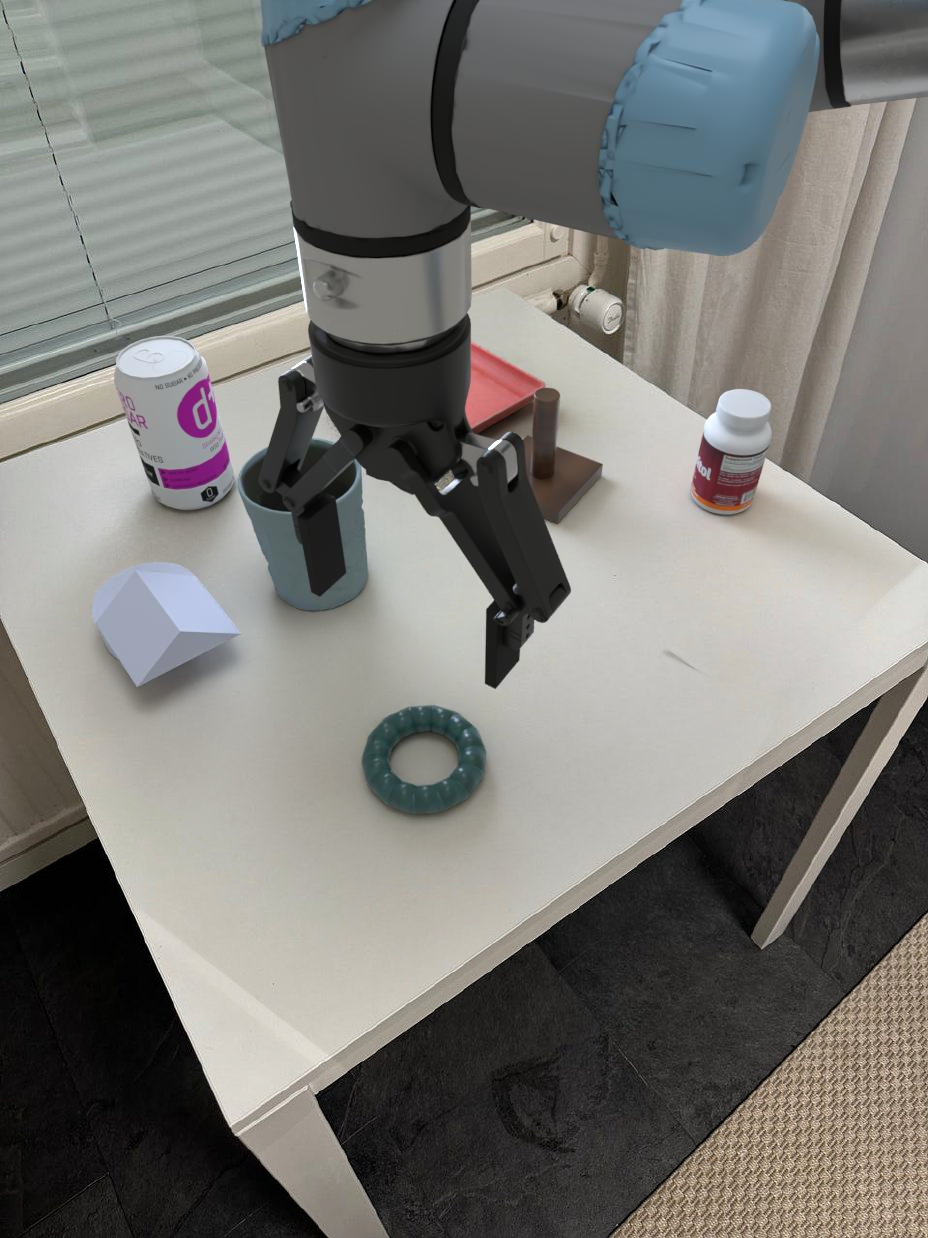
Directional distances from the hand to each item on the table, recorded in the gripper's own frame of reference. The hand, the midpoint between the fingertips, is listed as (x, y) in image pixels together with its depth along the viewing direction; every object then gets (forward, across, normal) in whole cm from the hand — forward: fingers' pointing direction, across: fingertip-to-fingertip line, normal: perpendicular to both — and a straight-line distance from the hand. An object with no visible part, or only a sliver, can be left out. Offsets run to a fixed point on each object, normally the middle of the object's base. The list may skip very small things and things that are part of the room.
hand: (411, 625), depth 56 cm
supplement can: (+16, -39, +14) cm, 44 cm away
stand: (+16, -10, +34) cm, 39 cm away
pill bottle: (+16, +6, +42) cm, 45 cm away
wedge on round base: (+16, -26, -2) cm, 30 cm away
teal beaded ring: (+15, 0, 0) cm, 15 cm away
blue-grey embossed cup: (+16, -20, +11) cm, 28 cm away
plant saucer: (+16, -27, +39) cm, 50 cm away
